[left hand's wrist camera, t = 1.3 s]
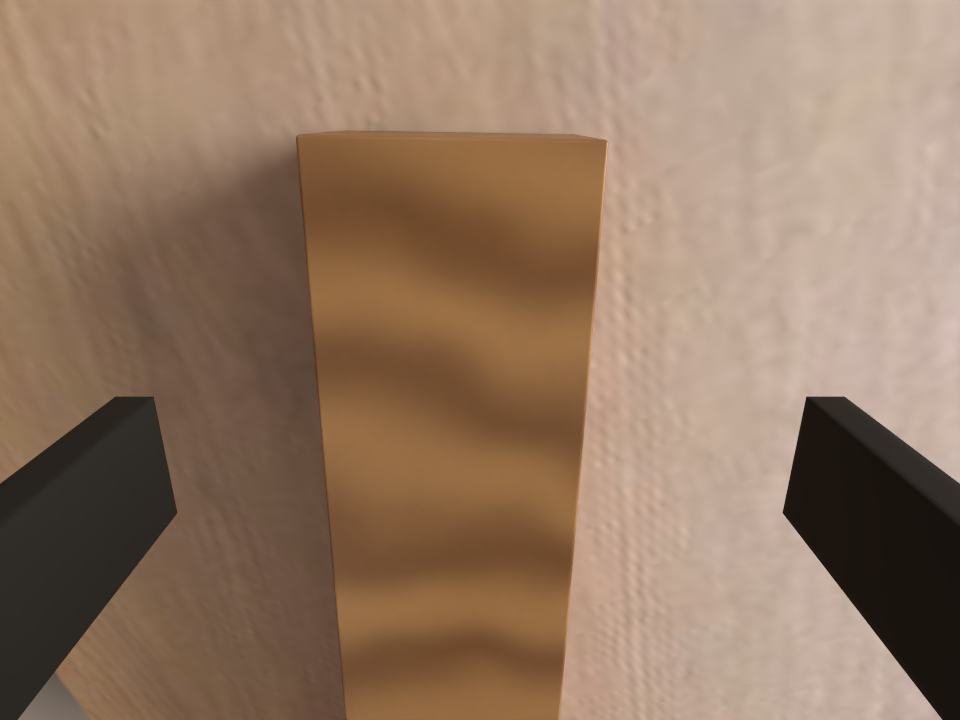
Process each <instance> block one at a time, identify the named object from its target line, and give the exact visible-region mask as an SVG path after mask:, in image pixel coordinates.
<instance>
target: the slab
mask: <svg viewBox="0 0 960 720" xmlns="http://www.w3.org/2000/svg"><path fill="white" fill-rule="evenodd" d="M296 144H297V156H298V167H299V179H300V191H301V202H302V214H303V226H304V237H305V249H306V261H307V273H308V284H309V296H310V308H311V319H312V331H313V343H314V354H315V366H316V378H317V390H318V401H319V413H320V425H321V436H322V448H323V460H324V471H325V483H326V495H327V507H328V518H329V530H330V542H331V553H332V565H333V577H334V588H335V600H336V612H337V624H338V635H339V647H340V659H341V670H342V682H343V694H344V705H345V717H346V720H559V719H560V707H561V696H562V684H563V672H564V660H565V649H566V637H567V625H568V614H569V602H570V590H571V578H572V567H573V555H574V543H575V531H576V520H577V508H578V496H579V484H580V473H581V461H582V449H583V438H584V426H585V414H586V402H587V391H588V379H589V367H590V355H591V344H592V332H593V320H594V308H595V297H596V285H597V273H598V262H599V250H600V238H601V226H602V215H603V203H604V191H605V179H606V168H607V156H608V144H609V143H608V141H607V140H603V139H597V138H591V137H586V136H580V135H573V134H514V133H455V132H395V131H335V132H325V133H314V134H303V135H298V136H297V137H296Z"/></svg>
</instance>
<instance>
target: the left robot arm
mask: <svg viewBox="0 0 960 720" xmlns="http://www.w3.org/2000/svg"><path fill="white" fill-rule="evenodd" d="M176 514H177V509H176V504H175V499H174V494H173V490H172V485H171V480H170V475H169V470H168V465H167V460H166V455H165V450H164V446H163V441H162V436H161V431H160V426H159V421H158V416H157V411H156V406H155V402H154V397H114V398H113V399H112V400H110V401H109V402H108V403H106V404H105V405H104V406H103V407H101V408H100V409H99V410H97V411H96V412H95V413H93V414H92V415H91V416H89V417H88V418H87V419H85V420H84V421H83V422H81V423H80V424H79V425H77V426H76V427H75V428H73V429H72V430H71V431H69V432H68V433H67V434H66V435H64V436H63V437H62V438H60V439H59V440H58V441H56V442H55V443H54V444H52V445H51V446H50V447H48V448H47V449H46V450H44V451H43V452H42V453H40V454H39V455H38V456H36V457H35V458H34V459H32V460H31V461H30V462H29V463H27V464H26V465H25V466H23V467H22V468H21V469H19V470H18V471H17V472H15V473H14V474H13V475H11V476H10V477H9V478H7V479H6V480H5V481H3V482H2V483H1V484H0V720H18V718H19V717H20V716H21V714H22V713H23V712H24V711H25V709H26V708H27V707H28V705H29V704H30V703H31V702H32V700H33V699H34V698H35V696H36V695H37V694H38V693H39V691H40V690H41V689H42V687H43V686H44V685H45V683H46V682H47V681H48V680H49V678H50V677H51V676H52V674H53V673H54V672H55V671H56V669H57V668H58V667H59V665H60V664H61V663H62V661H63V660H64V659H65V658H66V656H67V655H68V654H69V652H70V651H71V650H72V649H73V647H74V646H75V645H76V643H77V642H78V641H79V639H80V638H81V637H82V636H83V634H84V633H85V632H86V630H87V629H88V628H89V626H90V625H91V624H92V623H93V621H94V620H95V619H96V617H97V616H98V615H99V614H100V612H101V611H102V610H103V608H104V607H105V606H106V604H107V603H108V602H109V601H110V599H111V598H112V597H113V595H114V594H115V593H116V592H117V590H118V589H119V588H120V586H121V585H122V584H123V582H124V581H125V580H126V579H127V577H128V576H129V575H130V573H131V572H132V571H133V570H134V568H135V567H136V566H137V564H138V563H139V562H140V560H141V559H142V558H143V557H144V555H145V554H146V553H147V551H148V550H149V549H150V548H151V546H152V545H153V544H154V542H155V541H156V540H157V538H158V537H159V536H160V535H161V533H162V532H163V531H164V529H165V528H166V527H167V526H168V524H169V523H170V522H171V520H172V519H173V518H174V516H175V515H176ZM783 514H784V515H785V516H786V518H787V519H788V520H789V522H790V523H791V524H792V526H793V527H794V528H795V529H796V531H797V532H798V533H799V535H800V536H801V537H802V538H803V540H804V541H805V542H806V544H807V545H808V546H809V548H810V549H811V550H812V551H813V553H814V554H815V555H816V557H817V558H818V559H819V560H820V562H821V563H822V564H823V566H824V567H825V568H826V570H827V571H828V572H829V573H830V575H831V576H832V577H833V579H834V580H835V581H836V582H837V584H838V585H839V586H840V588H841V589H842V590H843V592H844V593H845V594H846V595H847V597H848V598H849V599H850V601H851V602H852V603H853V604H854V606H855V607H856V608H857V610H858V611H859V612H860V614H861V615H862V616H863V617H864V619H865V620H866V621H867V623H868V624H869V625H870V627H871V628H872V629H873V630H874V632H875V633H876V634H877V636H878V637H879V638H880V639H881V641H882V642H883V643H884V645H885V646H886V647H887V649H888V650H889V651H890V652H891V654H892V655H893V656H894V658H895V659H896V660H897V661H898V663H899V664H900V665H901V667H902V668H903V669H904V671H905V672H906V673H907V674H908V676H909V677H910V678H911V680H912V681H913V682H914V683H915V685H916V686H917V687H918V689H919V690H920V691H921V693H922V694H923V695H924V696H925V698H926V699H927V700H928V702H929V703H930V704H931V705H932V707H933V708H934V709H935V711H936V712H937V713H938V715H939V716H940V717H941V718H942V720H960V484H959V483H958V482H957V481H955V480H954V479H953V478H951V477H950V476H949V475H947V474H946V473H945V472H943V471H942V470H941V469H939V468H938V467H937V466H935V465H934V464H933V463H931V462H930V461H929V460H928V459H926V458H925V457H924V456H922V455H921V454H920V453H918V452H917V451H916V450H914V449H913V448H912V447H910V446H909V445H908V444H906V443H905V442H904V441H902V440H901V439H900V438H898V437H897V436H896V435H894V434H893V433H892V432H891V431H889V430H888V429H887V428H885V427H884V426H883V425H881V424H880V423H879V422H877V421H876V420H875V419H873V418H872V417H871V416H869V415H868V414H867V413H865V412H864V411H863V410H861V409H860V408H859V407H857V406H856V405H855V404H853V403H852V402H851V401H850V400H848V399H847V398H846V397H806V402H805V406H804V411H803V416H802V421H801V426H800V431H799V436H798V441H797V446H796V450H795V455H794V460H793V465H792V470H791V475H790V480H789V485H788V490H787V494H786V499H785V504H784V509H783Z"/></svg>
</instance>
